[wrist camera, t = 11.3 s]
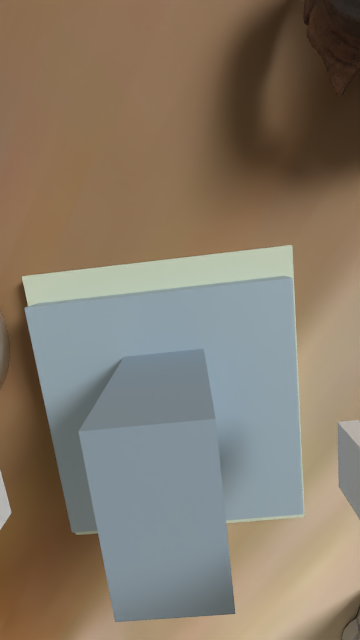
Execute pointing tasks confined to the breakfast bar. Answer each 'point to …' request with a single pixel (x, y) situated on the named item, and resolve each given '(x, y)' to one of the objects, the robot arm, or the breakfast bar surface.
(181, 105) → the breakfast bar surface
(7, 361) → the bowl
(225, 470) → the lid
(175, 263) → the mat
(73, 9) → the breakfast bar surface
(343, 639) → the tall pale column
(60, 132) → the breakfast bar surface
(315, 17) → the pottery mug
